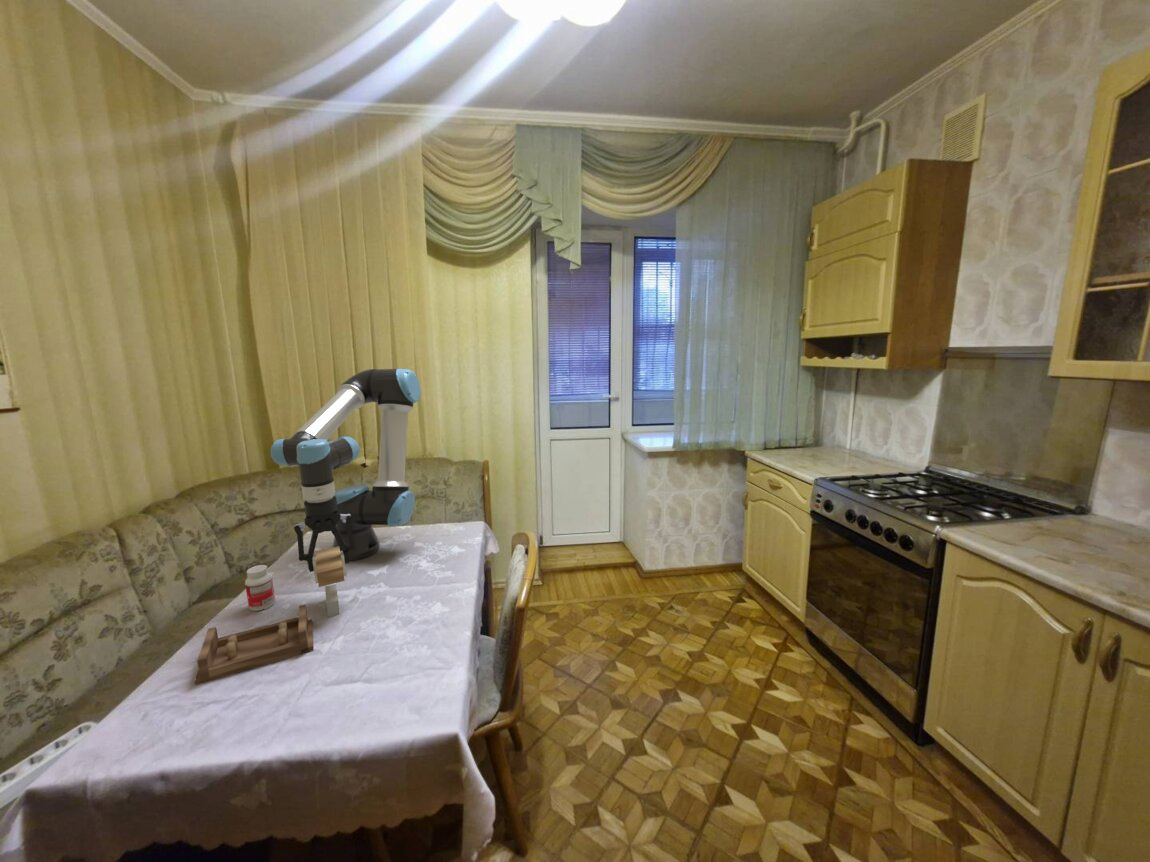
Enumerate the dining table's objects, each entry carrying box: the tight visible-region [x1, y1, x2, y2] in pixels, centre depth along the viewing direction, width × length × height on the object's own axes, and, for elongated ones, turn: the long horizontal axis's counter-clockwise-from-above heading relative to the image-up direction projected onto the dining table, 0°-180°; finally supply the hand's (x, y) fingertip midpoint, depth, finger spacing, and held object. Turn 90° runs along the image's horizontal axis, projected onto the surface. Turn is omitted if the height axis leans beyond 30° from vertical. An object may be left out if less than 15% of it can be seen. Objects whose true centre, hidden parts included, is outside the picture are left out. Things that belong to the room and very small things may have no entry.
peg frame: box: [194, 604, 314, 686], centre depth 108 cm, size 13×22×6 cm, turn 120°
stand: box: [324, 583, 341, 618], centre depth 126 cm, size 10×3×4 cm, turn 30°
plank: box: [314, 546, 346, 588], centre depth 125 cm, size 14×6×4 cm, turn 30°
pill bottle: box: [244, 564, 276, 612], centre depth 127 cm, size 6×6×11 cm
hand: (331, 577), depth 126 cm, fingers closed on plank, 6 cm apart
